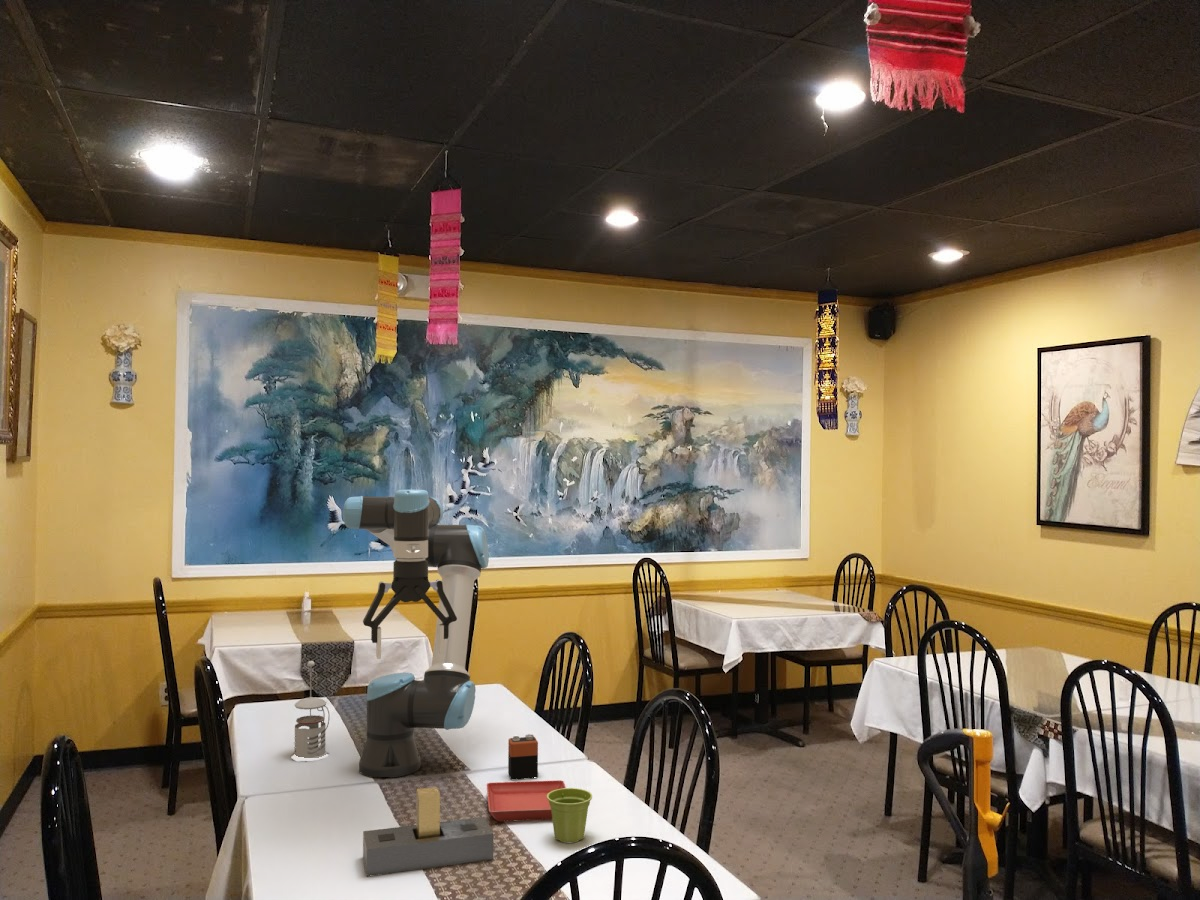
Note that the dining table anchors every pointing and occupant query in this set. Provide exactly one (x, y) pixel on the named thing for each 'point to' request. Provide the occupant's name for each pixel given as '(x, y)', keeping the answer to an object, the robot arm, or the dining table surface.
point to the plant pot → (569, 813)
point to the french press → (310, 727)
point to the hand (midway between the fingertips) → (410, 655)
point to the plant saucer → (521, 799)
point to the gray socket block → (427, 846)
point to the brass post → (427, 813)
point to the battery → (523, 757)
